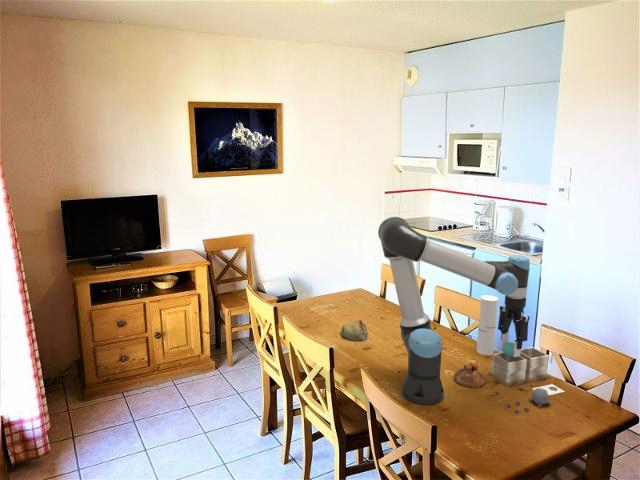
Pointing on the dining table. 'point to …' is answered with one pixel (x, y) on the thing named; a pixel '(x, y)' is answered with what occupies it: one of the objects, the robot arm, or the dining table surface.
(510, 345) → the ball teal
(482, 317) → the cylindrical container
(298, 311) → the dining table surface
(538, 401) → the ball charcoal
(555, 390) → the dot card
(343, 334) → the grey green rock
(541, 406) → the small grey cubes
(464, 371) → the brown patterned pot lid
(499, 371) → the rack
